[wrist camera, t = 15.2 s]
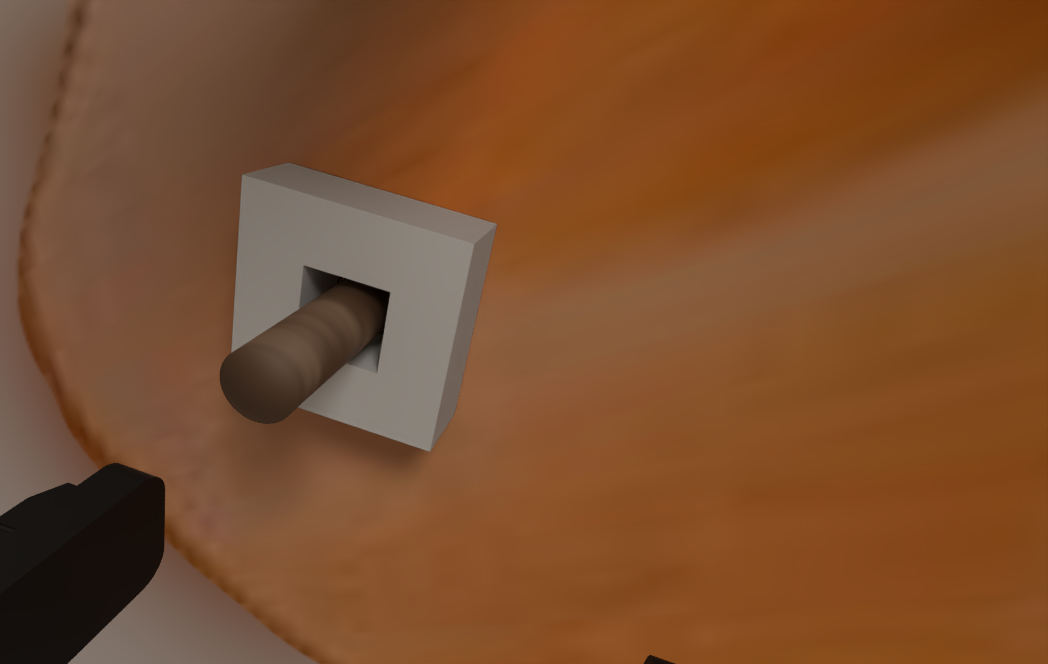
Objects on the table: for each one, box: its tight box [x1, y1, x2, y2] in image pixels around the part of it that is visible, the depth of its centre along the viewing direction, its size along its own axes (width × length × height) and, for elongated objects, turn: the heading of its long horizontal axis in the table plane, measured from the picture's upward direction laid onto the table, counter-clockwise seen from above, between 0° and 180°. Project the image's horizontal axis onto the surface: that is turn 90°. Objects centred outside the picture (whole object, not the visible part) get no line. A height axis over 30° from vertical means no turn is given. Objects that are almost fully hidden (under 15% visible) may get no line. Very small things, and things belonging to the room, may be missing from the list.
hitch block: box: [231, 163, 497, 452], centre depth 43 cm, size 14×14×5 cm
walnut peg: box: [220, 278, 390, 424], centre depth 39 cm, size 4×4×14 cm
